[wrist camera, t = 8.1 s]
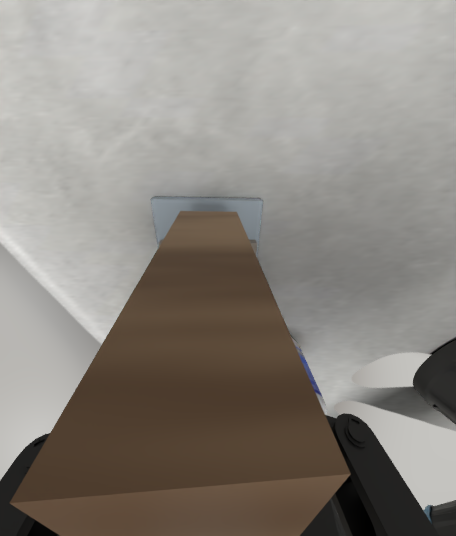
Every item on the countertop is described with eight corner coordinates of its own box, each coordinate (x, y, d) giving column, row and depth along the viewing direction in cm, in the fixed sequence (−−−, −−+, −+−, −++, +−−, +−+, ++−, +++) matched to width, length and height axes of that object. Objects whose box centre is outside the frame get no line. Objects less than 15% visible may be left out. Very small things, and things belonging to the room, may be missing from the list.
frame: (178, 211, 11) (-2, 504, 2) (236, 211, 12) (351, 474, 2) (191, 353, 17) (164, 604, 8) (230, 352, 17) (251, 593, 8)
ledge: (260, 198, 16) (265, 203, 14) (241, 384, 27) (243, 398, 26) (154, 196, 15) (147, 201, 13) (181, 387, 27) (179, 401, 25)
